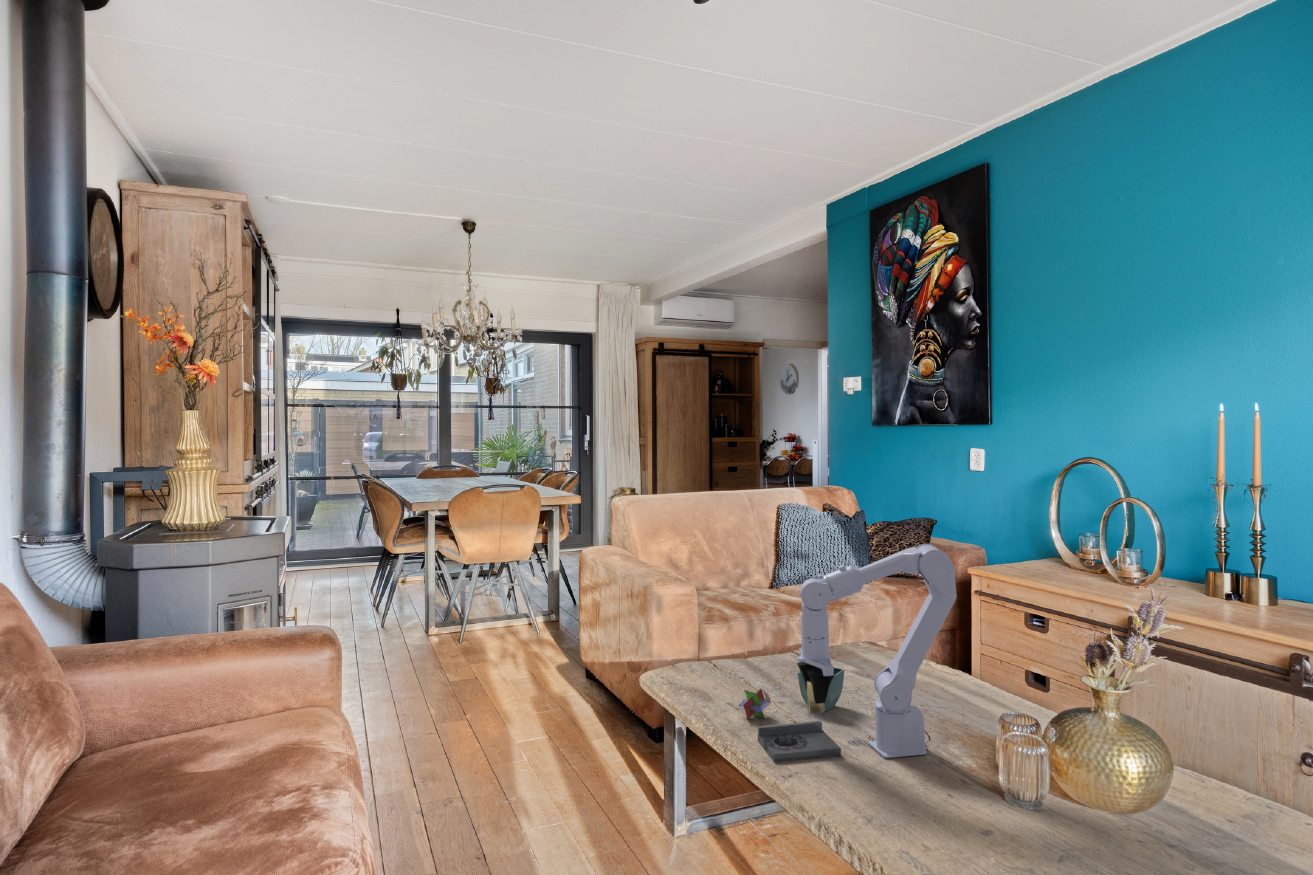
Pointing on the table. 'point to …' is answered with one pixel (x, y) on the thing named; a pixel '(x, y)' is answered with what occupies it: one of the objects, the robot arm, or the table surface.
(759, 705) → the geometric puzzle
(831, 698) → the flower pot
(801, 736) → the jig
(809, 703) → the brass cylinder plug
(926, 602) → the robot arm
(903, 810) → the table surface
